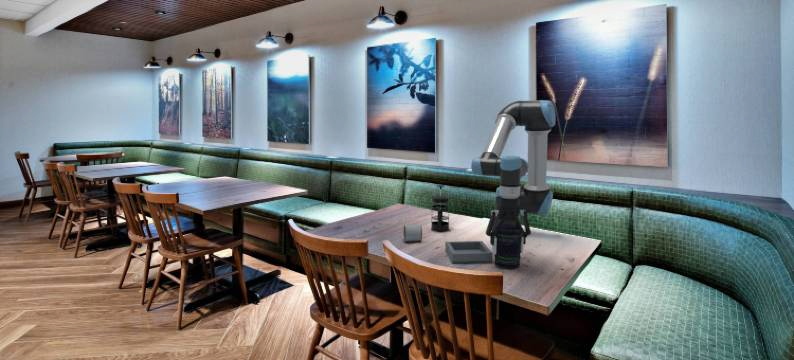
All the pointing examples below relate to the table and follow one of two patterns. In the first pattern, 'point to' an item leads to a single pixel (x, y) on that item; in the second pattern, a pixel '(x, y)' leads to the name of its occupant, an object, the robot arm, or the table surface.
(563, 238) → the table surface
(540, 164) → the robot arm
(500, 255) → the storage jar
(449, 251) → the tray
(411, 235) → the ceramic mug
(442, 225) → the french press
